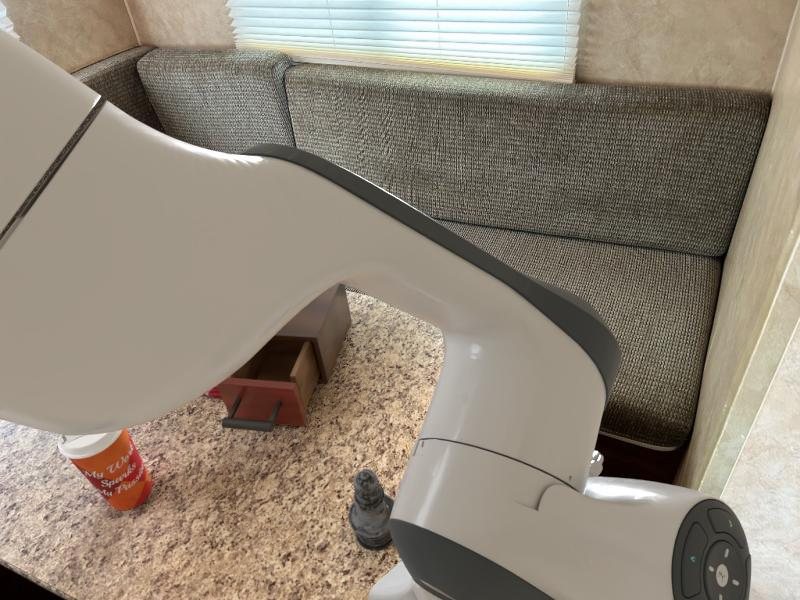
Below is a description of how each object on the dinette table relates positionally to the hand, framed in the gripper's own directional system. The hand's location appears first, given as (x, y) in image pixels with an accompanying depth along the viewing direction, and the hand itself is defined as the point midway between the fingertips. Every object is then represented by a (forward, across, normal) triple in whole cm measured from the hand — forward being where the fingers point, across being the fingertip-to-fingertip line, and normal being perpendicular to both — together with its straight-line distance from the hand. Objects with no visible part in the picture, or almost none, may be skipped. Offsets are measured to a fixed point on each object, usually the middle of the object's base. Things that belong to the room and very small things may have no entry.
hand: (440, 523), depth 55 cm
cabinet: (+44, -12, -21) cm, 50 cm away
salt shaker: (+21, 0, +3) cm, 21 cm away
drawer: (+38, -2, -16) cm, 41 cm away
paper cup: (+40, +20, -16) cm, 48 cm away
